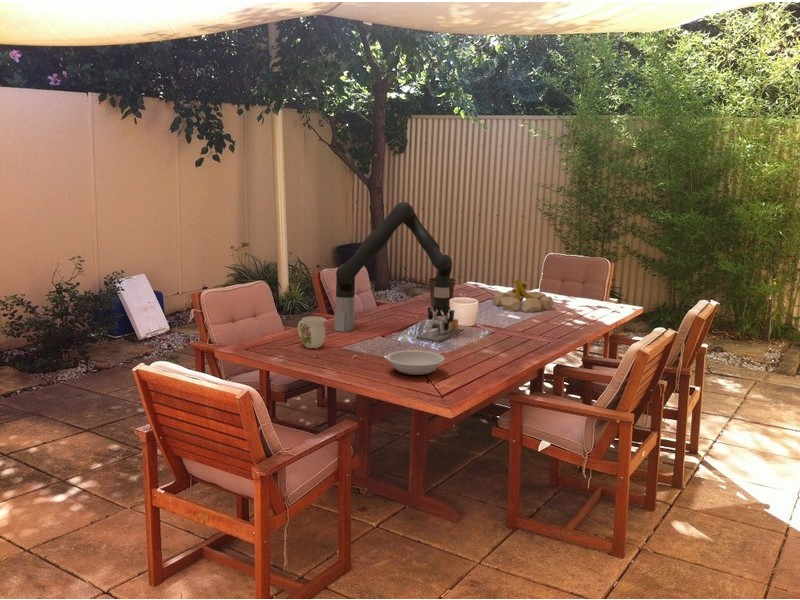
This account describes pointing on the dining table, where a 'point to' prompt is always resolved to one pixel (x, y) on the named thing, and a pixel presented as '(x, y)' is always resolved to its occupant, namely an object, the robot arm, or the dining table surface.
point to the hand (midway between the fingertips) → (440, 329)
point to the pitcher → (312, 331)
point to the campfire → (515, 296)
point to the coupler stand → (435, 333)
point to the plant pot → (432, 287)
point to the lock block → (439, 324)
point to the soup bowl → (415, 361)
